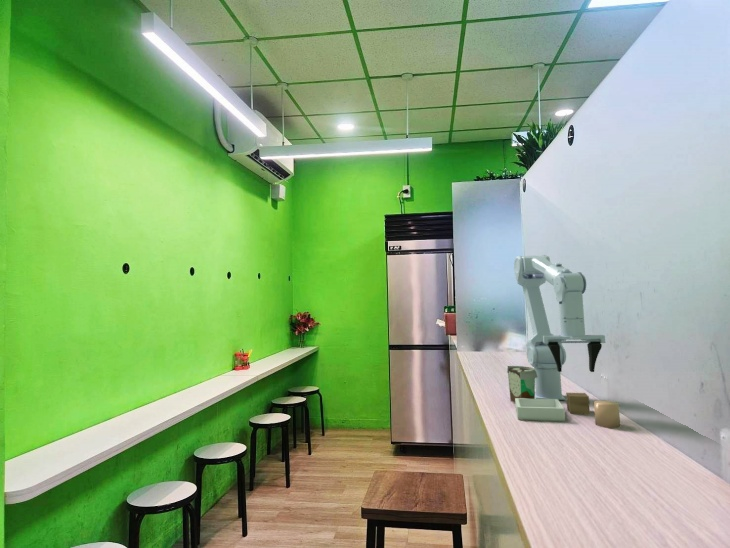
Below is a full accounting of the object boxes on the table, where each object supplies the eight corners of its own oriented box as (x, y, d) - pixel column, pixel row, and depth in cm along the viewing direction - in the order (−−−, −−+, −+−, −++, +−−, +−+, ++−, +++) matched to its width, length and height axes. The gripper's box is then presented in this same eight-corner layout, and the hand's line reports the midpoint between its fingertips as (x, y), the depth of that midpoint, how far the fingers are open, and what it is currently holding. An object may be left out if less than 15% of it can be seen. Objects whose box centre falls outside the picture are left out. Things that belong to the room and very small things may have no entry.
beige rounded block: (593, 421, 103) (591, 400, 103) (617, 422, 101) (615, 400, 102) (598, 427, 98) (596, 405, 98) (623, 428, 97) (621, 405, 97)
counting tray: (515, 409, 117) (514, 398, 117) (558, 410, 114) (557, 399, 114) (518, 419, 106) (517, 407, 107) (565, 421, 104) (564, 408, 104)
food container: (546, 409, 116) (543, 371, 117) (523, 410, 116) (520, 371, 117) (529, 399, 128) (527, 365, 129) (508, 400, 128) (506, 365, 129)
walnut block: (567, 409, 115) (566, 392, 115) (586, 410, 114) (584, 392, 114) (570, 414, 111) (569, 396, 111) (589, 414, 109) (588, 396, 110)
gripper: (544, 319, 112) (547, 373, 111) (606, 318, 108) (610, 373, 107) (540, 319, 119) (544, 369, 118) (599, 317, 115) (603, 369, 114)
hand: (575, 371), depth 113 cm, fingers open, 7 cm apart
